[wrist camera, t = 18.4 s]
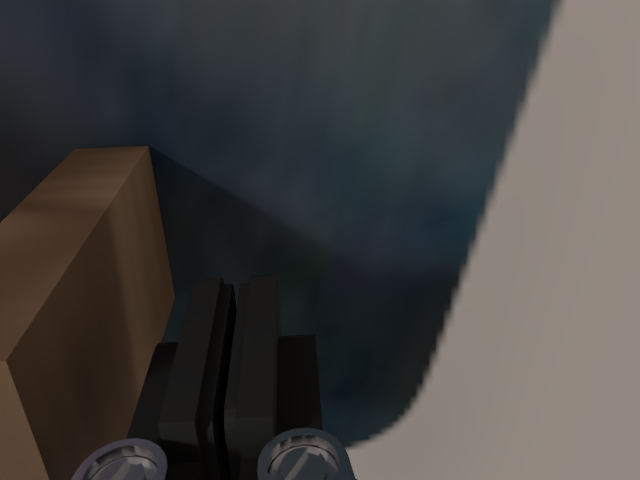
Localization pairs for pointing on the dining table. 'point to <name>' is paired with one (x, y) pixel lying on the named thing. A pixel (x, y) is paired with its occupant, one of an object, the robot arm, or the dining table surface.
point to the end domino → (79, 310)
